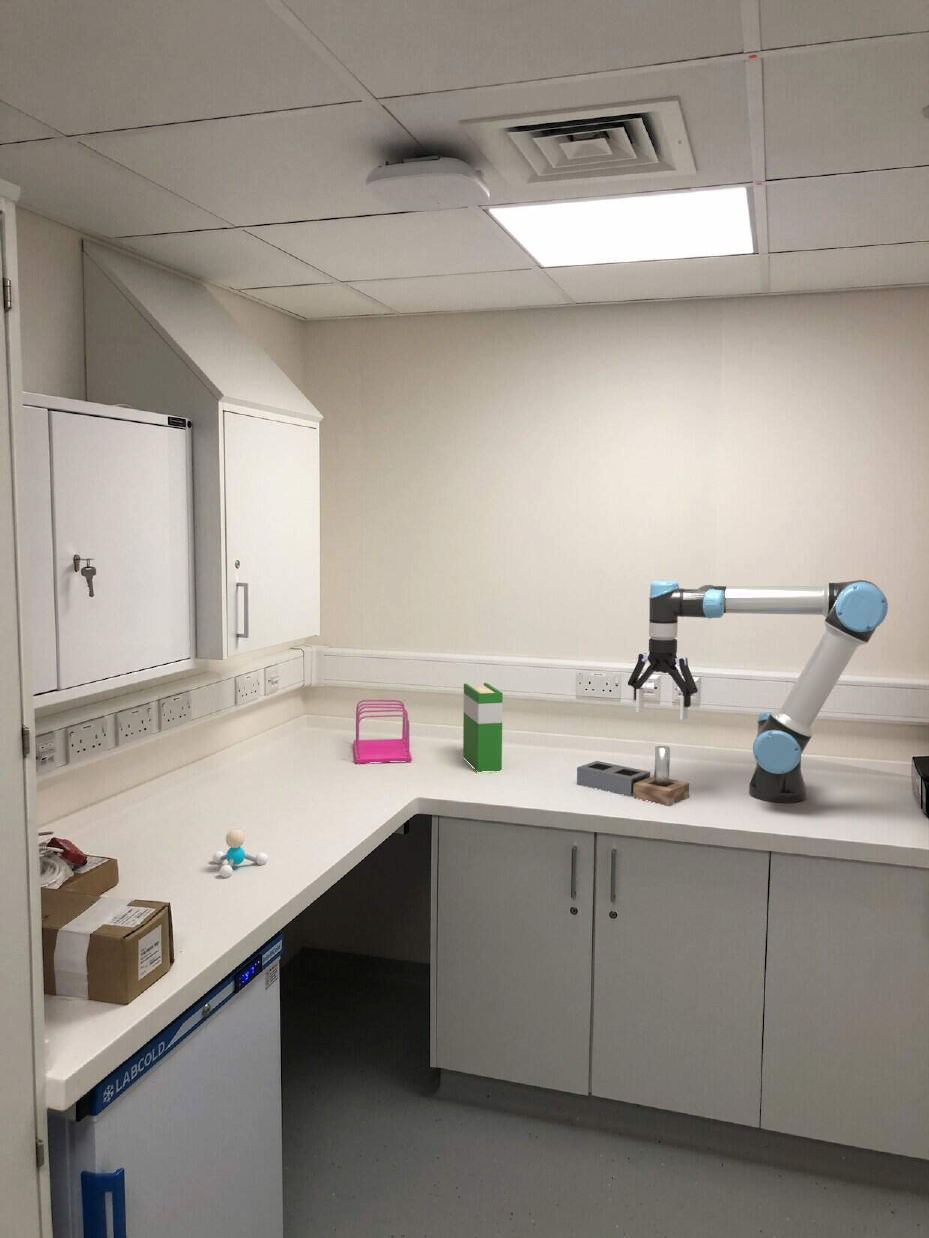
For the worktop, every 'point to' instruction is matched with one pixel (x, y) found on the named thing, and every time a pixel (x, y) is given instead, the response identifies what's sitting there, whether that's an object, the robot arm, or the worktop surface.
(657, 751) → the silver metal cylinder
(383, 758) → the file sorter
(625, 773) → the block
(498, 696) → the hardback book
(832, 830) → the worktop surface
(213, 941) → the worktop surface
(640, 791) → the walnut socket block
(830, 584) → the robot arm
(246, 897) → the worktop surface
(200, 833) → the worktop surface
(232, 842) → the molecule model
